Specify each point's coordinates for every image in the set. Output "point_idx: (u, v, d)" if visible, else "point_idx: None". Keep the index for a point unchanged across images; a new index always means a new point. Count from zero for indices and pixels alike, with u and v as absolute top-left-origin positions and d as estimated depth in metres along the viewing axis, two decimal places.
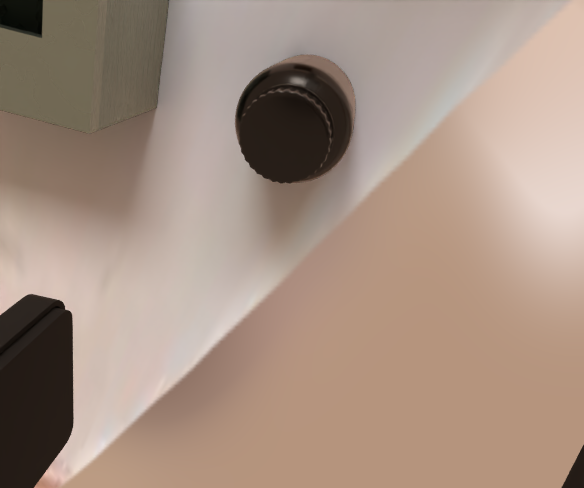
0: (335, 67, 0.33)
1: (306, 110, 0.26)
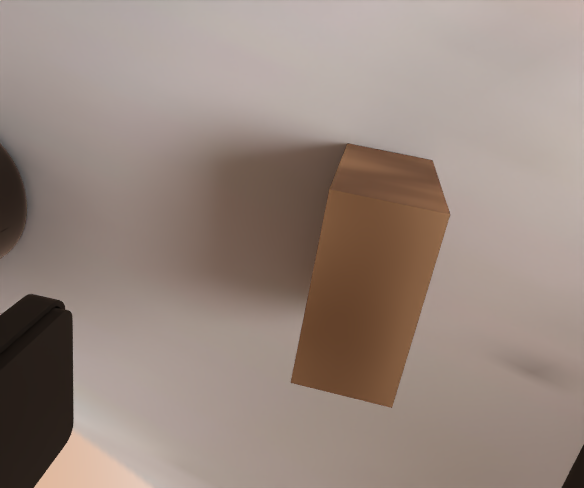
0: None
1: None
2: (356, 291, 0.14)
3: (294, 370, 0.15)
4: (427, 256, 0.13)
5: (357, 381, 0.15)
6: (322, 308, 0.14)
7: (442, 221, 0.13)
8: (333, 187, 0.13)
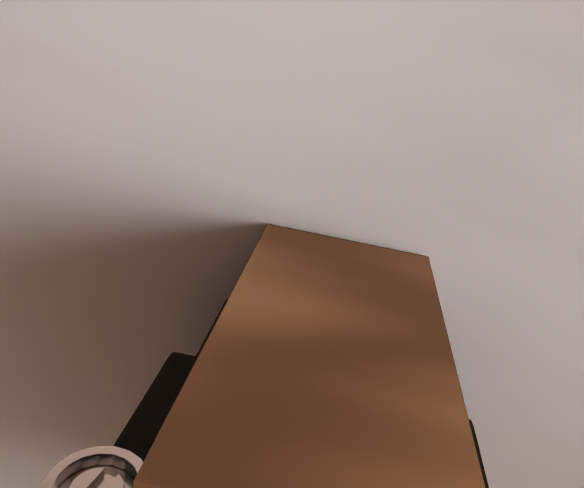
0: None
1: None
2: None
3: None
4: None
5: None
6: None
7: None
8: (153, 463, 0.04)
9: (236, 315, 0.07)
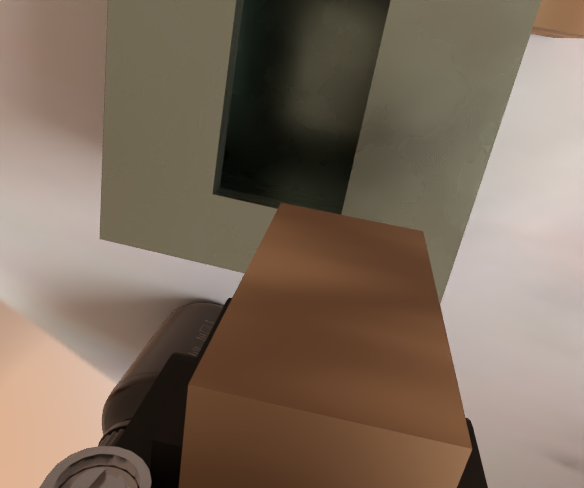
0: None
1: None
2: None
3: None
4: None
5: None
6: None
7: (453, 462, 0.05)
8: (201, 374, 0.06)
9: (258, 274, 0.08)
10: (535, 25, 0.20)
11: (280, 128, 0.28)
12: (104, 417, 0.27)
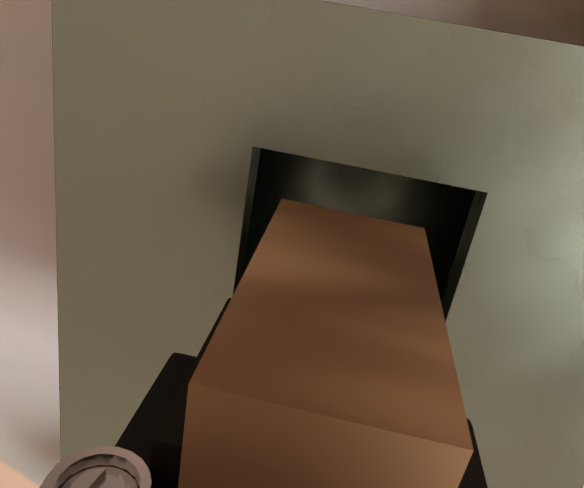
0: None
1: None
2: None
3: None
4: None
5: None
6: None
7: (454, 463, 0.05)
8: (201, 372, 0.06)
9: (259, 270, 0.08)
10: None
11: None
12: None
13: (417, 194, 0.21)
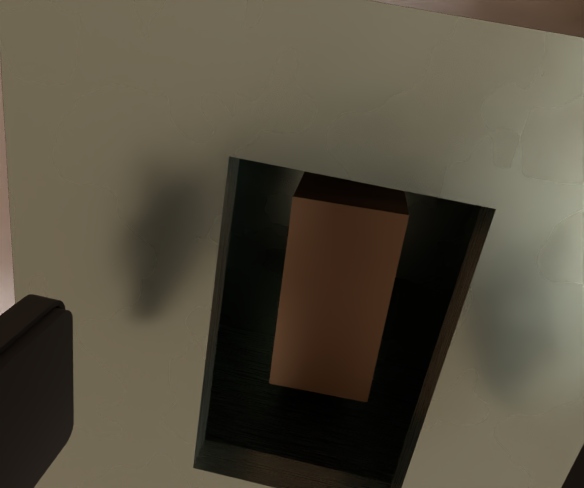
0: None
1: None
2: (325, 292, 0.14)
3: (271, 371, 0.16)
4: (390, 256, 0.14)
5: (332, 378, 0.16)
6: (294, 310, 0.15)
7: (402, 222, 0.13)
8: (297, 194, 0.14)
9: None
10: None
11: None
12: None
13: (415, 201, 0.19)
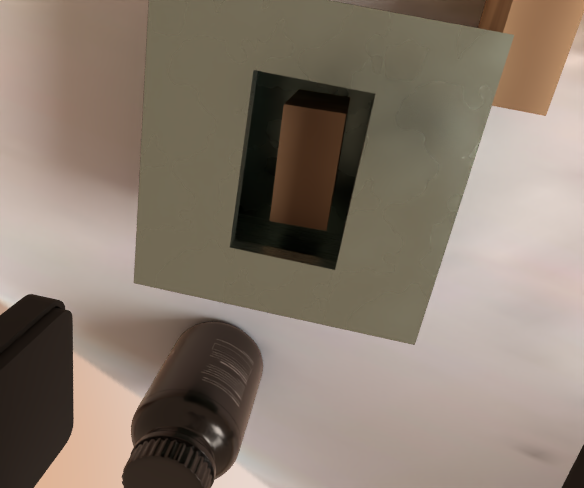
0: None
1: None
2: (301, 161, 0.26)
3: (271, 213, 0.27)
4: (337, 138, 0.25)
5: (306, 216, 0.27)
6: (284, 173, 0.26)
7: (342, 117, 0.25)
8: (286, 103, 0.25)
9: (295, 97, 0.27)
10: (493, 104, 0.24)
11: None
12: (134, 428, 0.31)
13: (361, 124, 0.31)
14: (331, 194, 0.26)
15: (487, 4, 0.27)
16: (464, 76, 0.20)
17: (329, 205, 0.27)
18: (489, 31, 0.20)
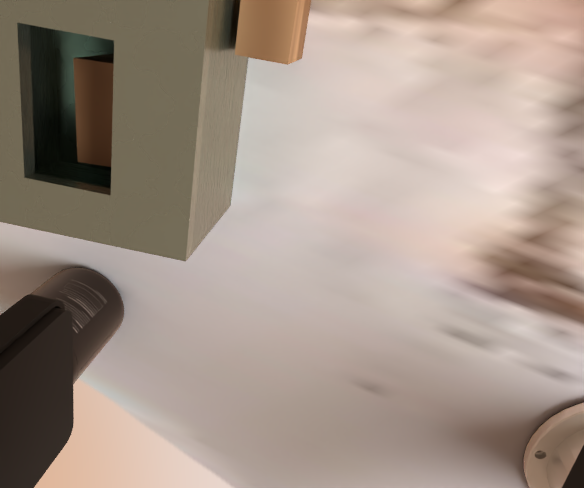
0: None
1: None
2: (95, 107, 0.30)
3: (77, 154, 0.32)
4: None
5: (106, 156, 0.31)
6: (83, 118, 0.31)
7: None
8: None
9: (99, 55, 0.32)
10: (244, 55, 0.29)
11: None
12: None
13: None
14: None
15: None
16: (179, 24, 0.25)
17: None
18: None
